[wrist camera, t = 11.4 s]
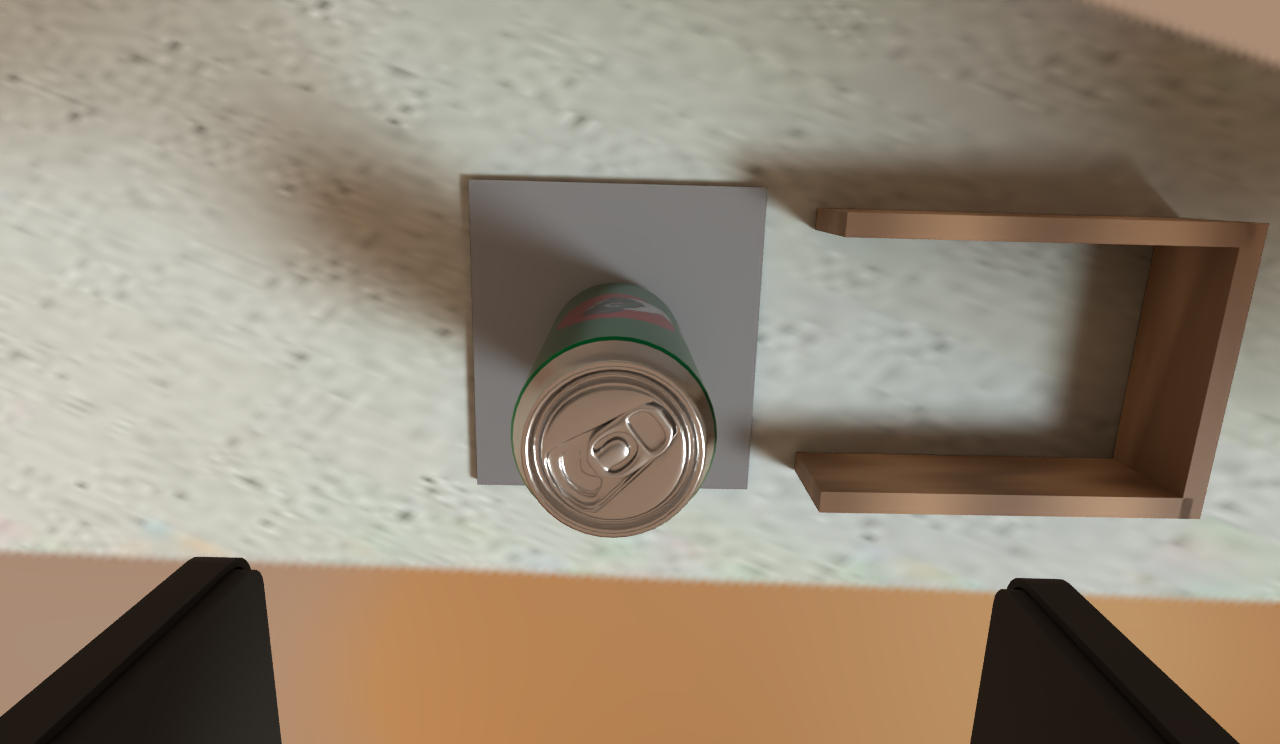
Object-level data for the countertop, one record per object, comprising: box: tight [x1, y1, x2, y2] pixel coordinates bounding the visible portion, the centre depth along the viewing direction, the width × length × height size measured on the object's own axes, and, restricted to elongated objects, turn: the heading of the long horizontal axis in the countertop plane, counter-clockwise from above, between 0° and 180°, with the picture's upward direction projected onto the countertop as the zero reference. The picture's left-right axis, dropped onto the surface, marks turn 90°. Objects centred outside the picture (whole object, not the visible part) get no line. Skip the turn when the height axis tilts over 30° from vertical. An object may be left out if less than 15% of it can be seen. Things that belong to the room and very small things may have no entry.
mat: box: [468, 179, 767, 489], centre depth 29 cm, size 11×12×1 cm
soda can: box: [510, 282, 717, 538], centre depth 23 cm, size 5×5×12 cm
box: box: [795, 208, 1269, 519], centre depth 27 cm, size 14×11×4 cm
